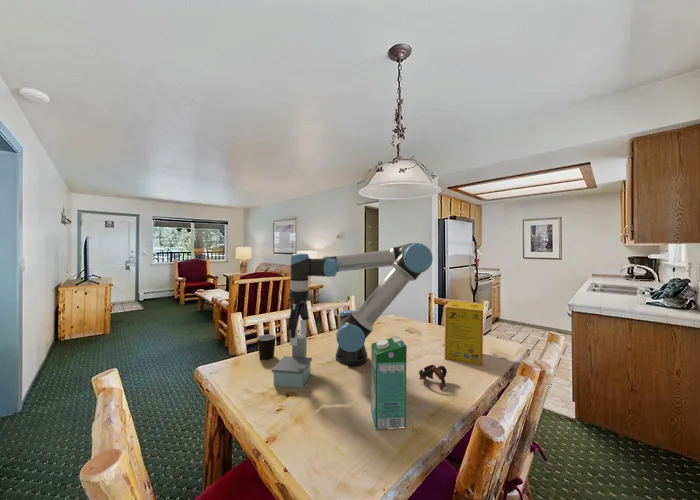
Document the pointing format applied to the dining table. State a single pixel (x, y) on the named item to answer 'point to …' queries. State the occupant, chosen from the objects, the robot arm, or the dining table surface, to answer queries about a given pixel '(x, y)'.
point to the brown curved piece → (429, 373)
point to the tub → (291, 379)
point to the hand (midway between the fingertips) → (298, 339)
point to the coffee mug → (266, 346)
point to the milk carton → (388, 383)
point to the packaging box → (464, 332)
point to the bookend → (294, 359)
